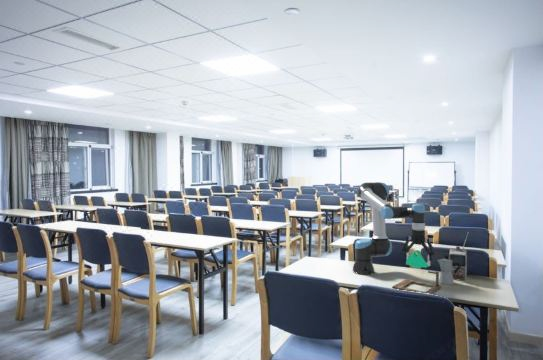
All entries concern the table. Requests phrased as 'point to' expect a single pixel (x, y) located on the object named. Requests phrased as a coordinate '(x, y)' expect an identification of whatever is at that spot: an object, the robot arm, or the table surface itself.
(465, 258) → the portable television
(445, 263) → the coffee maker
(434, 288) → the open wooden square frame
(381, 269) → the table surface
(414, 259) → the camera mount
